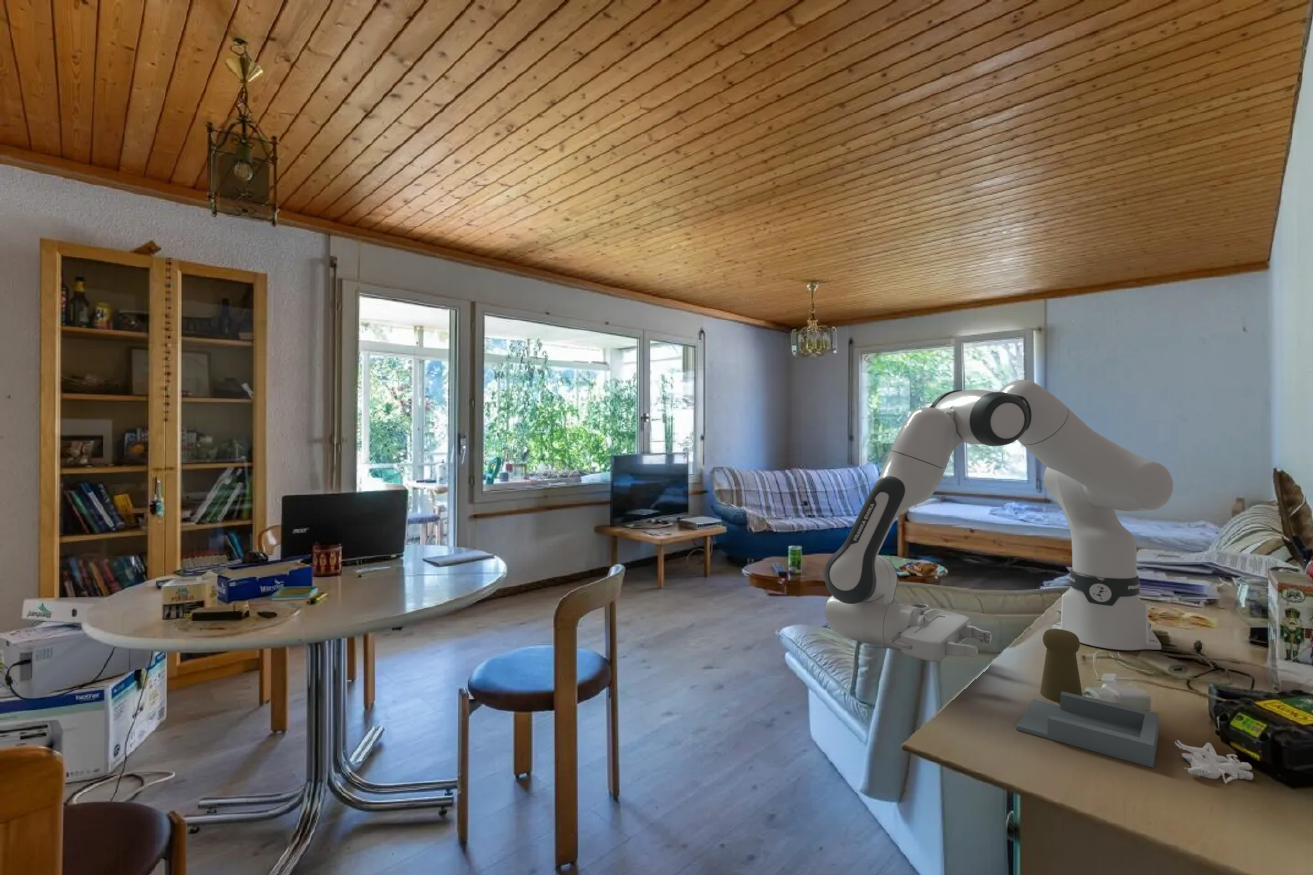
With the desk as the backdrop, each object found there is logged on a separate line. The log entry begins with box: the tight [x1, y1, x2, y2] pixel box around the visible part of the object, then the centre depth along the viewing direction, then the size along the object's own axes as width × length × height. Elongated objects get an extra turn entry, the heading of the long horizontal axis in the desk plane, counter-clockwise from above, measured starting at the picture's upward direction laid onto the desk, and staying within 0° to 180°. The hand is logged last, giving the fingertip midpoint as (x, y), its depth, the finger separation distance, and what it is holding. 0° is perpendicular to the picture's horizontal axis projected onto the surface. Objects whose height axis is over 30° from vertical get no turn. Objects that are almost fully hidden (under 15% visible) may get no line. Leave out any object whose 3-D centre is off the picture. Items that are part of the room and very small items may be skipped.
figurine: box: [1174, 739, 1254, 785], centre depth 80 cm, size 3×8×8 cm
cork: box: [1039, 628, 1083, 703], centre depth 103 cm, size 6×6×11 cm
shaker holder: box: [1016, 691, 1160, 769], centre depth 91 cm, size 12×16×3 cm
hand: (984, 644), depth 111 cm, fingers open, 8 cm apart
